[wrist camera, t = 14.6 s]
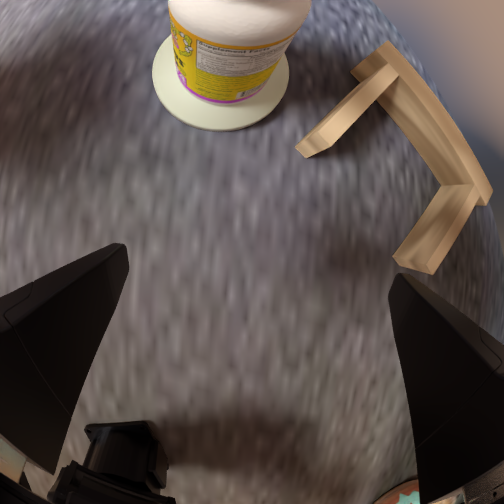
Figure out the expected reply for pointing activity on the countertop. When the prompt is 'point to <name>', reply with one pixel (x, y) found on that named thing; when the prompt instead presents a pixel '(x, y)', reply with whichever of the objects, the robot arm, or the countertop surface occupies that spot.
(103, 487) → the robot arm
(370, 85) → the tan u-shaped block
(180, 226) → the countertop surface
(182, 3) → the supplement bottle
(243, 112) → the coaster
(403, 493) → the donut
